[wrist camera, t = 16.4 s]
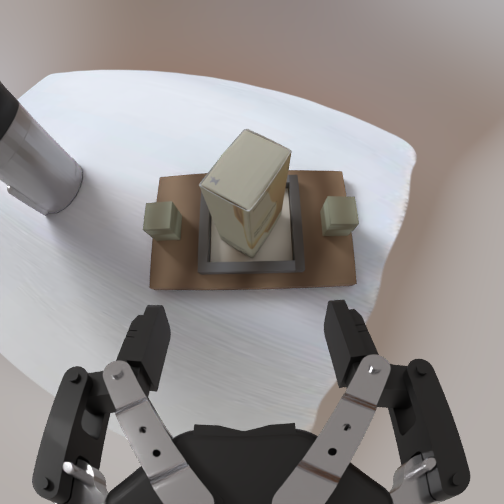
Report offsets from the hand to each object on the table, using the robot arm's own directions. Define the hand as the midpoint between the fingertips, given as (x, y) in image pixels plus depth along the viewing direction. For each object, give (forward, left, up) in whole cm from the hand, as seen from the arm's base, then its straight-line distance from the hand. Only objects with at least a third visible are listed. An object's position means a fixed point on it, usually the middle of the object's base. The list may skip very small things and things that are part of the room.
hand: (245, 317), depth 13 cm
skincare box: (+5, +9, -16) cm, 19 cm away
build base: (+5, +9, -17) cm, 20 cm away
